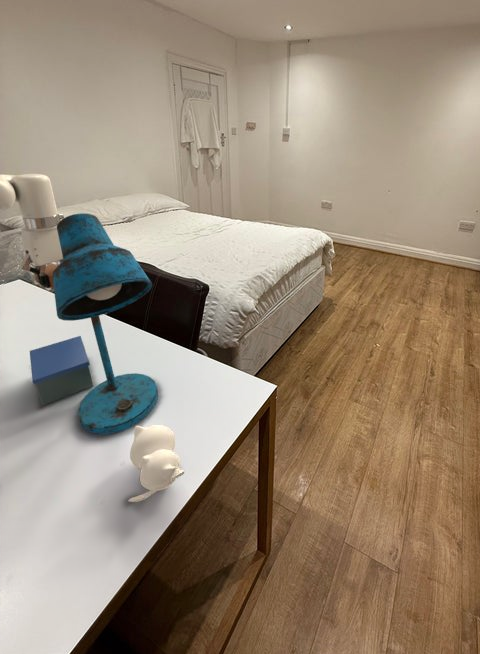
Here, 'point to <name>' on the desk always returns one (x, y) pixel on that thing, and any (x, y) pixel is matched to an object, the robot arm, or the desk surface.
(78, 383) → the container
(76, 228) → the desk lamp
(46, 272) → the block
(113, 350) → the desk surface
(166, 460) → the cat figurine
